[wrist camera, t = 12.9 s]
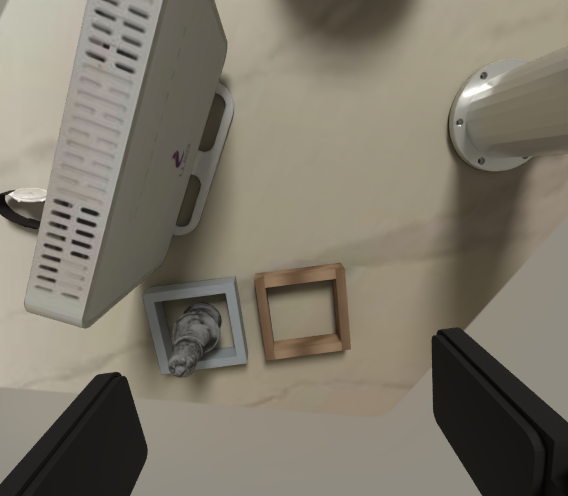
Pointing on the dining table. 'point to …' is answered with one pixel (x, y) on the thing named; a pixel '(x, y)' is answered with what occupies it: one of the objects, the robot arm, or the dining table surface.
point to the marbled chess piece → (193, 337)
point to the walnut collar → (306, 344)
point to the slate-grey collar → (188, 290)
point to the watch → (24, 196)
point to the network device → (127, 152)
